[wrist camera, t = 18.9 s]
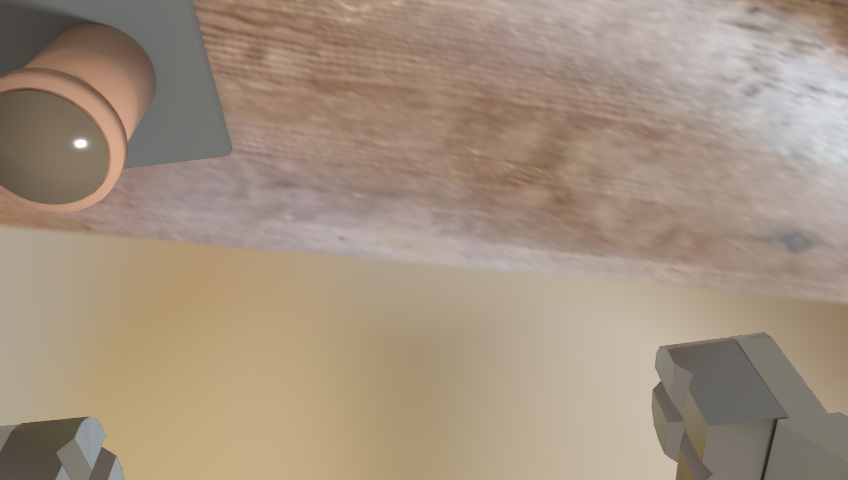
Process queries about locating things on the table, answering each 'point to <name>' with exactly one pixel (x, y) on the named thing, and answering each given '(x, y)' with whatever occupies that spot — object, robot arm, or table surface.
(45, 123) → the terracotta pot
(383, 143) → the table surface
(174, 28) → the rubber mat
